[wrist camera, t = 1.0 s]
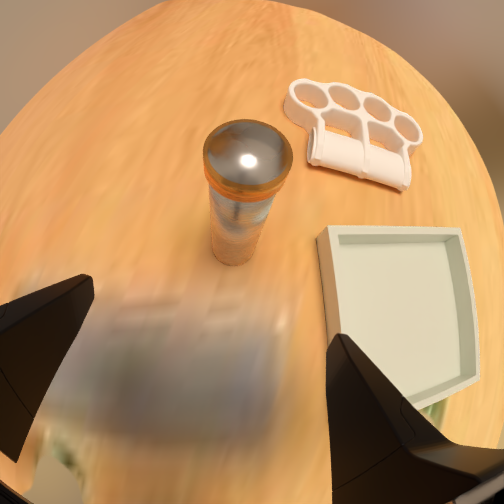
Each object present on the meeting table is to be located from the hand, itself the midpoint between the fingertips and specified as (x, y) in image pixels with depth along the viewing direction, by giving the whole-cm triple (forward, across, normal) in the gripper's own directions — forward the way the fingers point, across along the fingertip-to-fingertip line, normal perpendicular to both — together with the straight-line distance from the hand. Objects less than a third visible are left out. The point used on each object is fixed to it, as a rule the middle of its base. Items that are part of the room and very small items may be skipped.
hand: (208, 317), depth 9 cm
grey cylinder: (+15, 0, +4) cm, 15 cm away
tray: (+12, -18, +7) cm, 22 cm away
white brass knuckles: (+27, -11, -8) cm, 30 cm away
